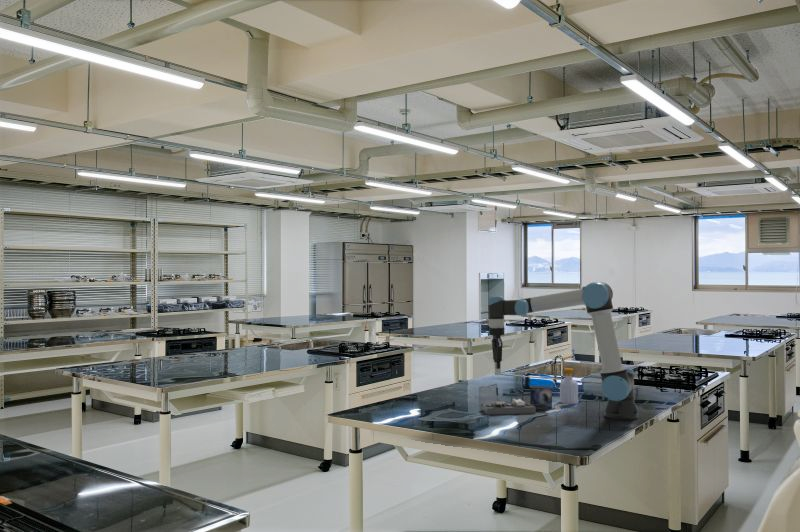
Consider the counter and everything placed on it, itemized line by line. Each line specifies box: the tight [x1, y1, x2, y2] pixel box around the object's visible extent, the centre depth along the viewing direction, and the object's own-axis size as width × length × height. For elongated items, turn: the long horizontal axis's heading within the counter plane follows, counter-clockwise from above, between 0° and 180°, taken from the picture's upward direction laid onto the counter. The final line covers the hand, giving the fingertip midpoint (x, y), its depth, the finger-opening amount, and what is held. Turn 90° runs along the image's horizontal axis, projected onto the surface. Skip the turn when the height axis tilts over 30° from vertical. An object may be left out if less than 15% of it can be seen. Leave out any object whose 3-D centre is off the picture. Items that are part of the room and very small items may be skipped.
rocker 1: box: [492, 400, 505, 404], centre depth 306 cm, size 8×4×1 cm, turn 5°
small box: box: [529, 385, 553, 410], centre depth 316 cm, size 11×6×10 cm, turn 82°
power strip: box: [481, 400, 549, 415], centre depth 307 cm, size 10×32×5 cm, turn 96°
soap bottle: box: [559, 355, 579, 405], centre depth 327 cm, size 9×9×25 cm
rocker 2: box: [512, 398, 525, 405], centre depth 307 cm, size 8×4×1 cm, turn 5°
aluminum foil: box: [588, 373, 602, 380], centre depth 394 cm, size 23×7×3 cm, turn 43°
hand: (497, 374), depth 309 cm, fingers closed
